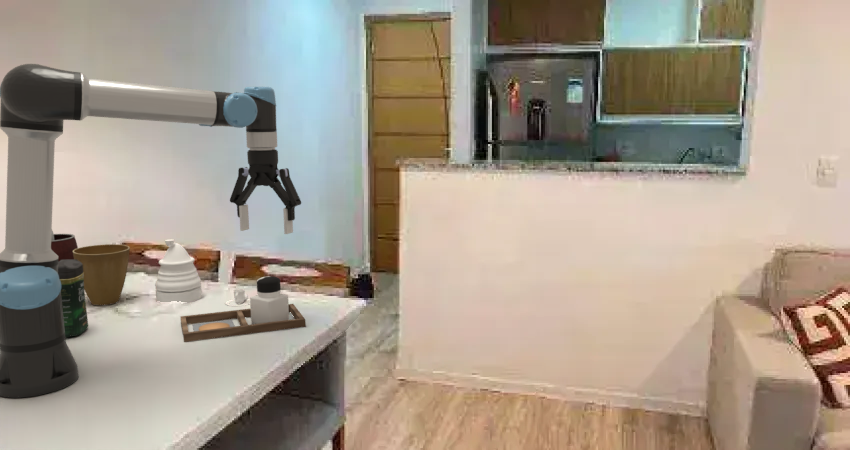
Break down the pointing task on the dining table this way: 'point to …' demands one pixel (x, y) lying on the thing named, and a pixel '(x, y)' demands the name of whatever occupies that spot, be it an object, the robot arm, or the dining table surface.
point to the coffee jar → (73, 296)
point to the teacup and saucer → (238, 297)
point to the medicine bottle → (269, 302)
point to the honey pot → (177, 276)
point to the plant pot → (103, 271)
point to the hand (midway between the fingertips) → (266, 231)
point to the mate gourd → (63, 245)
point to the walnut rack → (236, 330)
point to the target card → (213, 325)
